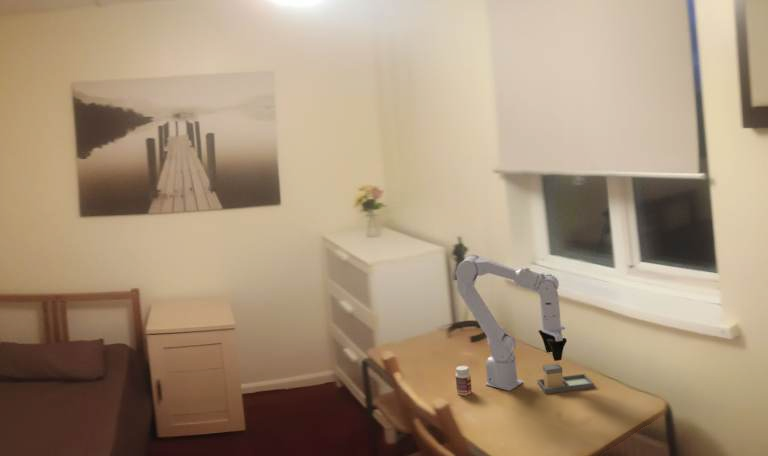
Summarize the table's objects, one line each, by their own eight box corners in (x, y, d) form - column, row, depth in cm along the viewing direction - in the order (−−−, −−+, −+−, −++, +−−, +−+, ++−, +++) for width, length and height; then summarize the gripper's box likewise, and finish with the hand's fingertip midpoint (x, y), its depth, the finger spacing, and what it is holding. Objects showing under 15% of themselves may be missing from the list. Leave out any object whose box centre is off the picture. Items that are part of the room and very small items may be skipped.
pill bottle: (471, 395, 205) (469, 370, 204) (456, 395, 206) (454, 371, 204) (472, 389, 209) (470, 364, 208) (457, 389, 210) (455, 365, 209)
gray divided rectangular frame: (545, 393, 200) (544, 389, 200) (537, 383, 208) (537, 379, 208) (593, 387, 201) (593, 383, 200) (584, 378, 209) (584, 373, 208)
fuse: (547, 391, 202) (546, 369, 201) (544, 386, 206) (542, 365, 205) (563, 389, 202) (562, 367, 201) (559, 384, 206) (558, 363, 205)
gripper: (571, 319, 193) (574, 362, 196) (555, 306, 208) (558, 346, 210) (548, 322, 193) (551, 365, 195) (534, 309, 208) (537, 349, 210)
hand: (553, 355), depth 203 cm, fingers open, 7 cm apart
